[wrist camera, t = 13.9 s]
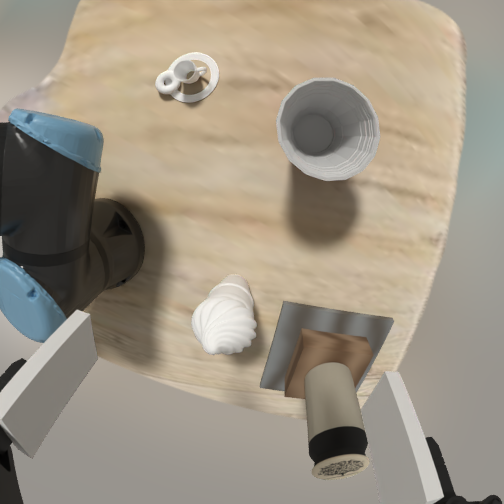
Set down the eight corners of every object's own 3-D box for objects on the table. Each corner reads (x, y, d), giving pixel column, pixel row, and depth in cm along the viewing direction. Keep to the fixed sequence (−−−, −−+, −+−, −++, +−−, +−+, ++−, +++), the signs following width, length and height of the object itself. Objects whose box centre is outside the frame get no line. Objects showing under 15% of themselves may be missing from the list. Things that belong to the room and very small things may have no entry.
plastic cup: (361, 161, 37) (394, 168, 26) (289, 180, 39) (295, 194, 28) (339, 88, 34) (363, 67, 23) (264, 107, 36) (260, 90, 24)
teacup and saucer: (155, 96, 36) (143, 92, 32) (171, 49, 33) (162, 41, 30) (209, 108, 37) (202, 104, 33) (227, 58, 34) (222, 50, 30)
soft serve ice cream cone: (256, 258, 44) (246, 317, 29) (265, 305, 46) (260, 375, 31) (203, 265, 45) (171, 324, 30) (216, 311, 47) (193, 378, 33)
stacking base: (259, 384, 53) (258, 406, 47) (283, 300, 46) (284, 322, 40) (352, 393, 53) (357, 414, 47) (392, 318, 46) (403, 338, 40)
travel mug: (303, 364, 43) (310, 461, 26) (352, 357, 42) (376, 450, 25) (305, 395, 46) (309, 483, 29) (349, 389, 45) (366, 475, 28)
